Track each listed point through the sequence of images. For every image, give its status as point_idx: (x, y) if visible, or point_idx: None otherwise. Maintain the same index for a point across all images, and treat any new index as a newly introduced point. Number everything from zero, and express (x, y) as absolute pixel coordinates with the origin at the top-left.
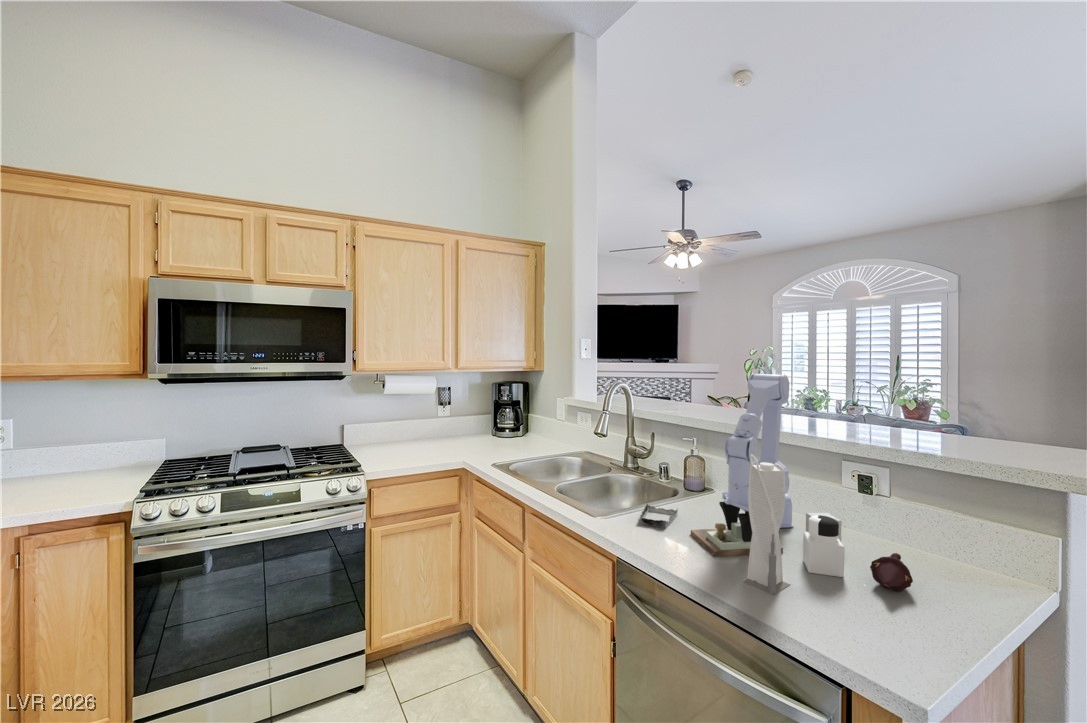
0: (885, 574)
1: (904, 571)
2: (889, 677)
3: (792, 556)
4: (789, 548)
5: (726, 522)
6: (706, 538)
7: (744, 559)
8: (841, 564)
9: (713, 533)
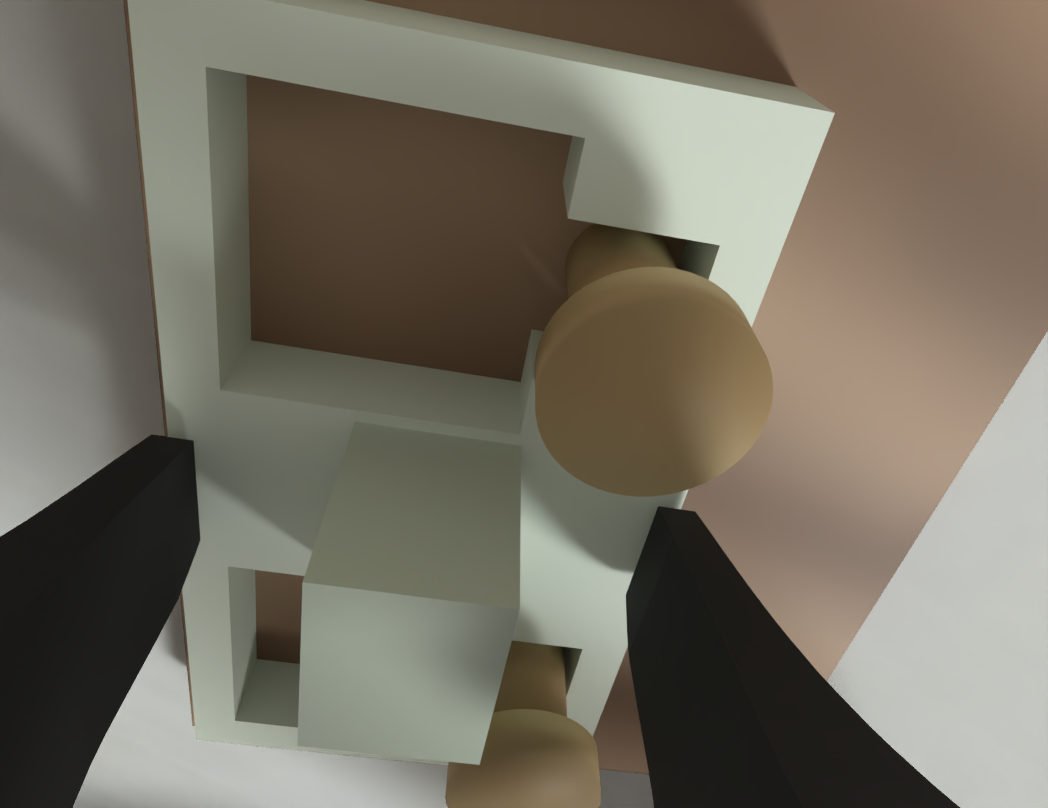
0: None
1: None
2: None
3: (127, 699)
4: (301, 766)
5: (725, 582)
6: (750, 38)
7: (36, 222)
8: None
9: (691, 191)
